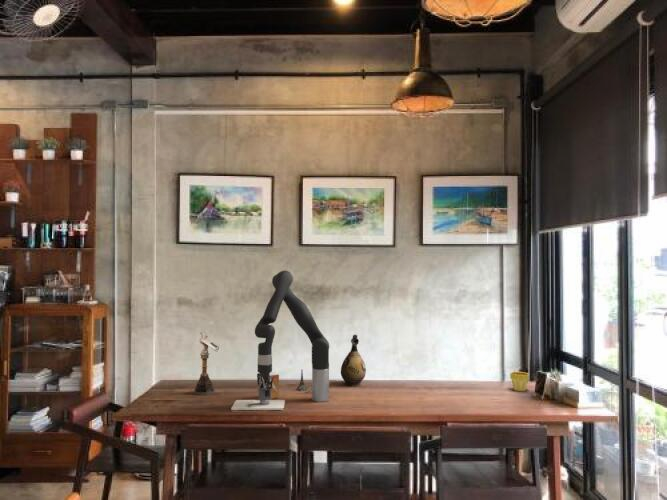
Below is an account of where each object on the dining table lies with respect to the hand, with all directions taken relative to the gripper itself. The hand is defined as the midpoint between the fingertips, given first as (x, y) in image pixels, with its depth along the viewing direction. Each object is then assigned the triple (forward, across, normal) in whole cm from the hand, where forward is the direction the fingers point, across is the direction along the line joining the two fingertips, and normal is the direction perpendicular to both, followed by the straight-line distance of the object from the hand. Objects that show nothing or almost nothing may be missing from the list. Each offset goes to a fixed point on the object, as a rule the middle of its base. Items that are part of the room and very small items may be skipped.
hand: (264, 395), depth 290 cm
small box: (+6, -16, +11) cm, 20 cm away
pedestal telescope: (+6, -45, -13) cm, 47 cm away
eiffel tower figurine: (+7, -21, +35) cm, 41 cm away
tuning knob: (+4, 0, -3) cm, 5 cm away
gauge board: (+6, -2, -2) cm, 7 cm away
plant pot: (+6, +47, +142) cm, 150 cm away
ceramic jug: (+6, -18, +68) cm, 71 cm away
